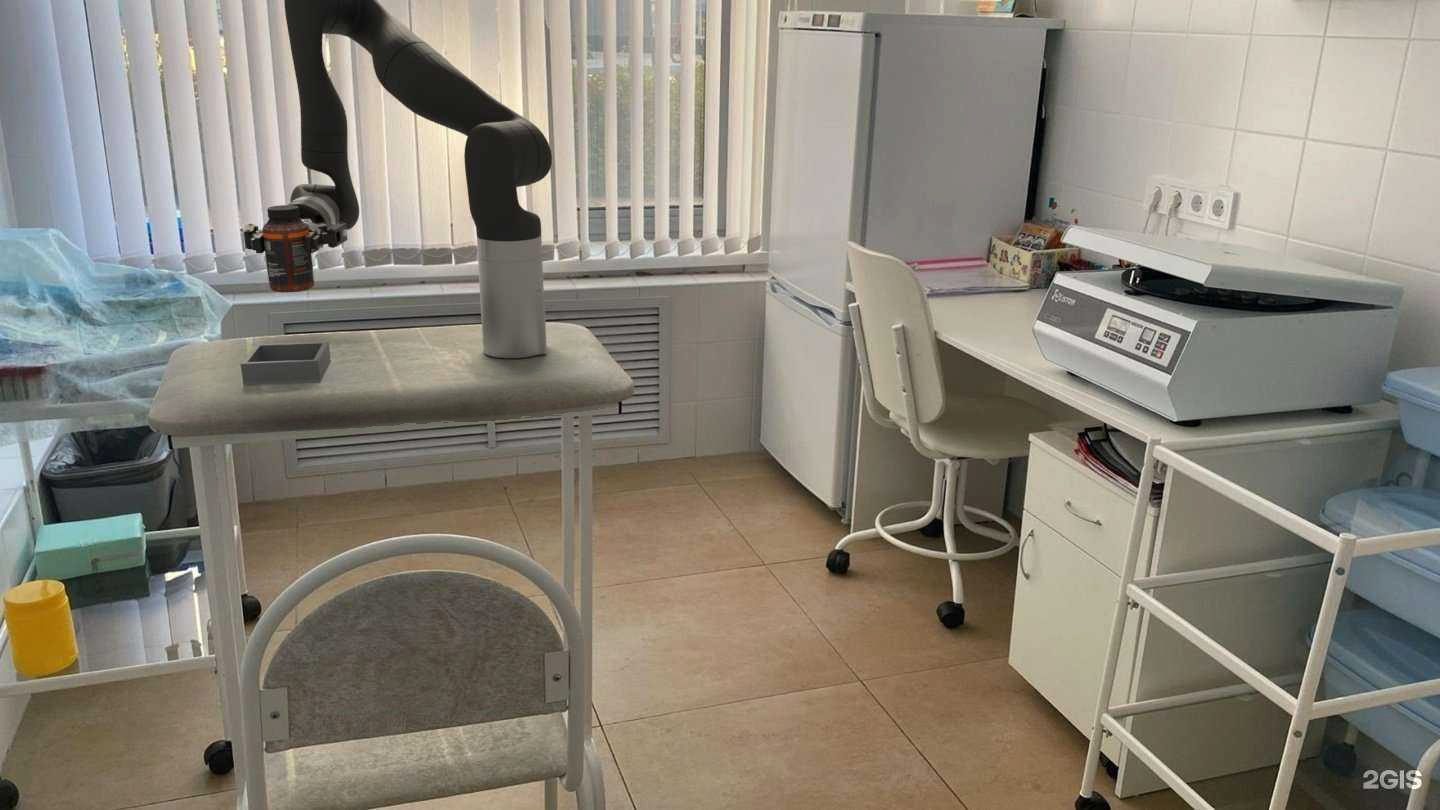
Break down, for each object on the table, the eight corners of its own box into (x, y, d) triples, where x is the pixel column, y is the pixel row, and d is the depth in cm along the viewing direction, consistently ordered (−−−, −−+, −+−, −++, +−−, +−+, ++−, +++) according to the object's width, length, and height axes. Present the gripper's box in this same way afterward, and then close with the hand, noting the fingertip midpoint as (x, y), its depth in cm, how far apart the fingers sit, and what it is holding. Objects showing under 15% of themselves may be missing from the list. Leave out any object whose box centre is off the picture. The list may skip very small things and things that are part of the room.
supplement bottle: (322, 284, 160) (314, 204, 157) (303, 294, 155) (294, 211, 151) (282, 283, 161) (273, 202, 157) (261, 292, 155) (251, 209, 152)
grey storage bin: (330, 361, 164) (328, 341, 163) (320, 382, 154) (318, 360, 153) (258, 364, 162) (255, 344, 161) (243, 385, 153) (240, 363, 152)
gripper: (252, 199, 167) (223, 218, 151) (353, 198, 169) (336, 216, 153) (258, 250, 169) (230, 274, 153) (358, 248, 171) (341, 271, 156)
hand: (283, 245), depth 153 cm, fingers closed on supplement bottle, 6 cm apart
